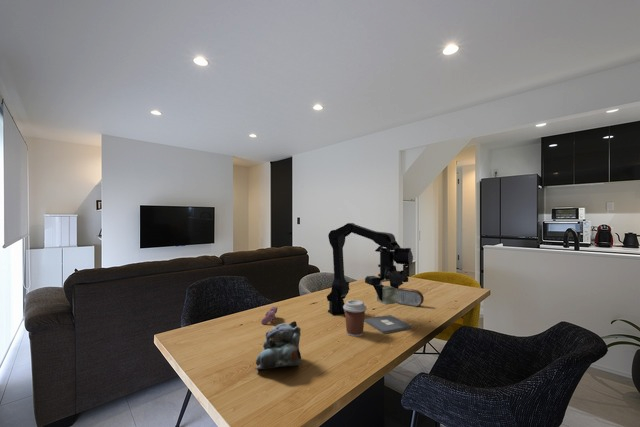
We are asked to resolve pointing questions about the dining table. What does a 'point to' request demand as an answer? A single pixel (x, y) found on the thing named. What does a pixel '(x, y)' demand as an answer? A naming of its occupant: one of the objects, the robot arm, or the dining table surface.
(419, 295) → the tin
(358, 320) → the coffee cup
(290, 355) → the lucky cat figurine
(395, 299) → the sage block
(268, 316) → the pink frog figurine
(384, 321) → the gray board
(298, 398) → the dining table surface
